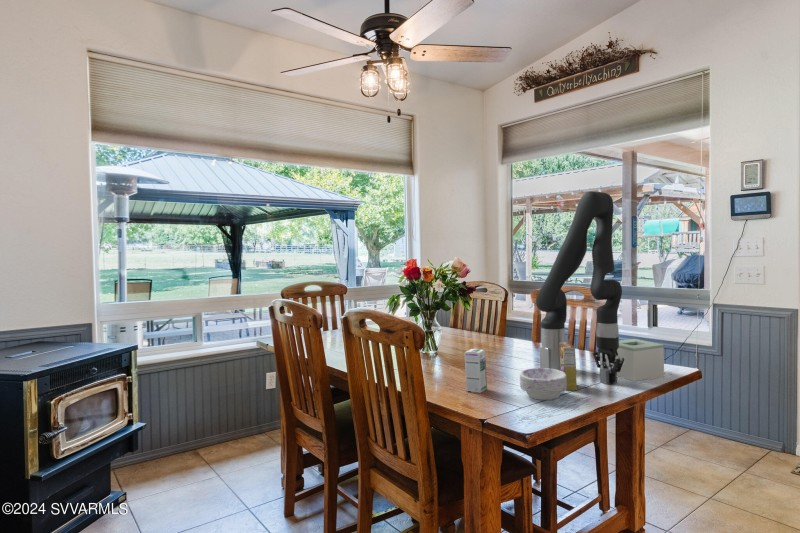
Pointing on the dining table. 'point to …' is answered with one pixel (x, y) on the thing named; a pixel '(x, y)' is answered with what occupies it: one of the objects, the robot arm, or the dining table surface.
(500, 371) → the dining table surface
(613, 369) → the robot arm
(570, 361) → the candy box
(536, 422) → the dining table surface
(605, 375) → the gray block
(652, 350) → the box
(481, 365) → the syrup box
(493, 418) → the dining table surface
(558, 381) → the marbled stone bowl
